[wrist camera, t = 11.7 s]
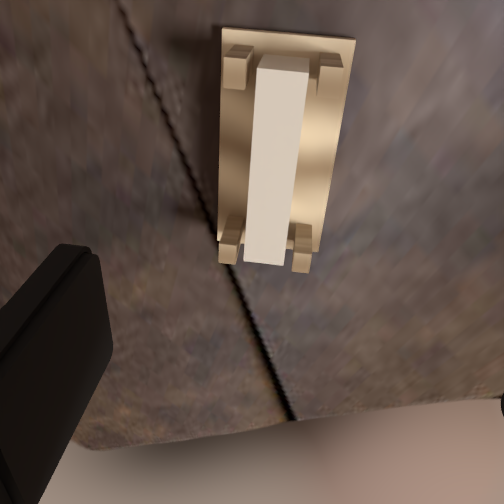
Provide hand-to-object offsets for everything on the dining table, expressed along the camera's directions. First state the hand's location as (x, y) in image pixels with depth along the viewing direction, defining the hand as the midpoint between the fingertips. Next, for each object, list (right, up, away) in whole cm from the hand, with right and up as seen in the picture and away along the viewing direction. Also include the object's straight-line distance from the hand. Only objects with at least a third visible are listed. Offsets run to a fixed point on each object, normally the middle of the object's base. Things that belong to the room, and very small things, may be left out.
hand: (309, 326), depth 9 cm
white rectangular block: (+1, +10, +29) cm, 30 cm away
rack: (+1, +11, +30) cm, 31 cm away
